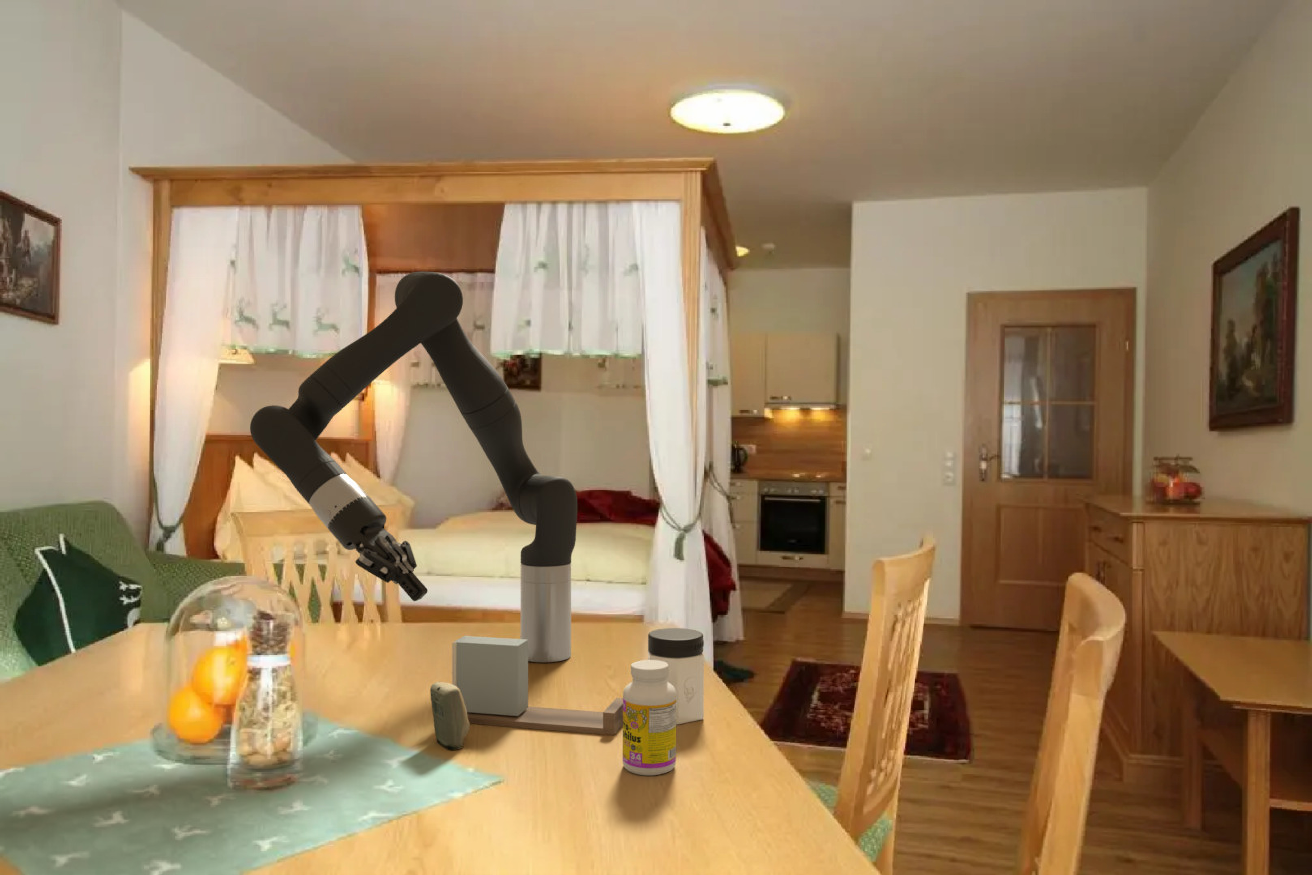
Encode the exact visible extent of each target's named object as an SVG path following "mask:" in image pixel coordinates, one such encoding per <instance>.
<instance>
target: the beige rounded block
mask: <svg viewBox="0 0 1312 875" xmlns="http://www.w3.org/2000/svg"><path fill="white" fill-rule="evenodd" d="M429 690H430V692H429V693H430V701H431V710H432V716H433V717H432V720H433V727H434V733H435V734H434V735H435V738H436V744H439V745H440V746H442V747H444V748H445V749H446V750H449V751H455V750H456V751H457V750H460V749H463V748H464V744H465V741H464V739H465V737H466V736H467V735H468V732H469V731H470V723H469V721H468V716H467V710H466V706H465V703H464V700H463V697H462V694H461V692H460V689H459V688H458V687H456V686H455V685H452V683H449V682H443V681H442V682H441V681H437V682H434V683H432V684H431V685H430V689H429Z"/></svg>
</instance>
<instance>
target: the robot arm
mask: <svg viewBox="0 0 1312 875" xmlns="http://www.w3.org/2000/svg"><path fill="white" fill-rule="evenodd" d="M394 303H395V304H394V305H395V307H396V308H395V309H394V310H393V311H392V312H391V313H390V314H389V315H388V316H387V317H386V318H385V319H384V320H383V321H381V323H379V324H378V325H376V327H373V328H372V330H370V331H369V332H367V333H365V334H364V335H363V336H361V337H359V338H358V339H356V340H355V341H353V342H352V343H350V344H348V345H347V346H345V347H343V348H342V349H340V350H339V351H338V352H336V353H335V354H333V355H332V356H331V357H330V358H328V359H327V360H326V361H324V363H322V365H320V366H319V367H318V368H317V369H316V370H314V371H313V372H312V373H311V374H310V375H309V376H308V377H307V378H306V379H304V381H303V382H302V383H301V384H300V385H299V386H298V395H297V396H298V397H297V399H296V400H295V401H294V402H293V403H292V405H291V406H289V408H287V407H284V406H281V405H273V404H272V405H266V406H264V407H262V408H259V409H258V410H257V411H256V412H255V414H253V416H252V418H251V421H250V426H249V429H250V430H249V431H250V435H251V438H252V440H253V442H254V444H256V445H257V446H258V448H259V449H260V450H261V451H262V452H263V453H264V454H265V455H266V456H267V457H268V458H269V459H270V460H271V461H272V462H273V464H275V466H277V467H278V468H279V469H280V470H281V472H283V473H284V474H285V475H286V477H287V478H288V479H289V482H290V483H291V484H292V486H293V487H294V488H295V489H296V491H297V492H298V493H299V494H300V495H301V497H302V498H303V499H304V501H305V502H307V504H308V505H309V506H310V508H312V511H313V512H314V514H315V515H316V516H317V518H318V519H319V520H320V521H321V522H322V524H323V525H324V526H325V527H326V529H327V530H328V531H329V532H330V533H331V535H332V536H333V537H334V538H335V539H336V540H337V541H338V542H339V544H340V545H341V546H342V547H343V548H344V549H345V550H347V551H351V550H356V552H357V553H358V554H359V557H358V558H357V559H356V560H355V564H356V565H357V566H358V567H359V568H362V569H363V570H365V571H367V572H368V573H370V574H372V575H374V576H375V577H376V578H378V579H380V580H381V581H383V582H385V583H387V584H389V583H390V582H392V583H393V584H395V585H399V586H400V588H401V589H402V590H403V591H404V593H406V595H407V596H408V597H409V598H410V599H411V600H412V601H413V602H417V601H419V600H421V599H423V597H425V596H426V594H427V593H428V589H427V587H426V586H425V585H424V583H423V582H422V581H421V580H420V579H419V578H418V577H417V575H416V574H415V573H414V571H415V569H416V568H417V567H418V564H417V562H416V559H415V556H414V552H413V549H412V545H411V543H410V542H409V541H407V540H403V541H402V543H400V542H398V541H397V539H396V538H395V537H394V535H392V534H391V533H390V532H388V530H387V529H385V524H386V522H387V515H386V514H385V513H384V512H383V511H382V510H381V508H380V507H379V506H378V505H377V504H376V503H375V501H373V500H372V498H371V497H370V496H369V495H368V494H367V493H366V491H364V490H363V488H362V487H361V485H360V484H358V483H357V481H355V480H354V479H353V478H351V476H349V475H348V474H347V472H345V470H344V469H343V468H342V467H341V465H339V463H338V462H337V461H336V459H334V458H333V457H332V456H331V455H330V454H329V453H327V451H326V450H324V449H323V448H322V447H321V446H320V444H319V443H318V442H317V440H318V438H319V437H320V436H321V434H322V433H323V432H324V430H325V429H326V428H327V426H328V425H329V423H330V422H331V420H332V419H333V418H334V417H335V416H336V415H337V414H338V413H340V412H341V411H342V410H343V409H344V408H345V407H346V406H347V405H349V404H350V402H352V401H354V399H355V398H356V397H357V396H358V395H359V394H360V393H362V392H363V391H364V390H365V389H366V388H368V386H369V385H370V384H372V382H374V381H375V380H376V379H377V378H378V377H380V375H382V374H383V373H384V372H385V371H386V370H387V369H388V368H390V367H391V366H392V365H393V364H395V363H396V362H397V361H399V360H400V359H401V358H402V357H404V356H405V355H406V354H408V353H409V352H411V351H412V350H413V349H415V348H416V347H417V346H419V345H420V344H421V345H422V347H423V348H424V350H425V351H426V352H427V354H428V355H429V357H430V359H431V360H432V362H433V364H434V366H435V368H436V370H437V372H438V373H439V376H440V378H441V380H442V382H443V384H444V386H445V387H446V389H447V390H448V392H449V395H450V396H451V398H452V399H453V401H454V403H455V405H456V408H457V409H458V411H459V412H460V415H461V416H462V418H463V419H464V421H465V422H466V425H467V426H468V428H469V429H470V430H471V432H472V434H473V435H474V437H475V438H476V440H477V442H478V443H479V445H480V447H481V449H482V450H483V452H484V455H485V456H486V458H487V459H488V461H489V462H490V464H491V466H492V468H493V469H494V472H495V473H496V475H497V478H498V479H499V482H500V484H501V486H502V489H503V490H504V493H505V495H506V497H507V499H508V502H509V504H510V506H511V508H512V510H513V512H514V513H515V515H516V516H517V517H518V518H519V519H520V520H521V521H523V523H526V524H529V525H533V526H535V532H534V533H535V534H534V539H533V540H532V542H530V543H529V544H527V545H525V546H524V547H522V548H521V550H520V638H519V639H527V640H528V662H532V663H553V662H554V663H555V662H561V661H566V660H568V659H570V658H571V656H572V556H573V555H572V554H573V552H574V550H575V546H576V542H577V541H576V540H577V521H578V497H577V496H578V495H577V492H576V489H575V486H574V484H572V482H571V481H570V480H568V478H565V477H563V476H557V475H543V474H541V473H540V472H539V471H538V469H537V468H536V467H535V465H534V464H533V462H532V460H531V459H530V457H529V455H528V453H527V451H526V449H525V446H524V441H523V440H524V439H523V424H522V423H523V422H522V421H523V420H522V416H521V415H522V414H521V411H520V407H519V406H518V403H517V401H516V400H515V398H514V397H513V394H512V392H511V391H510V389H509V387H508V385H507V384H506V382H505V381H504V379H503V378H502V376H501V375H500V373H499V372H498V371H497V370H496V368H495V367H494V365H492V364H491V362H490V361H489V360H488V359H487V358H486V357H485V356H484V355H483V354H482V353H481V351H480V350H479V349H478V348H477V347H476V346H475V344H473V342H472V341H471V340H470V338H468V335H467V334H466V332H465V331H464V329H463V328H462V325H461V323H460V322H459V320H458V317H459V315H460V314H461V312H462V310H463V306H464V305H463V304H464V296H463V291H462V289H461V287H460V285H459V284H458V283H457V281H456V280H454V278H452V277H450V276H448V275H446V274H444V273H440V272H436V271H435V272H434V271H415V272H414V271H413V272H410V273H408V274H405V275H403V277H402V278H400V280H399V281H398V283H397V285H396V287H395V292H394Z"/></svg>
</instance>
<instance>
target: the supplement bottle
mask: <svg viewBox="0 0 1312 875" xmlns="http://www.w3.org/2000/svg"><path fill="white" fill-rule="evenodd" d="M668 674H669V666H668V664H667V663H666V662H663V661H658V660H648V659H642V660H638V661H635V662H632V663H631V665H630V675H631V677H632V681H630V682H629V683H628V684H627V685H626V686H625V688H623V692H622V698H623V725H622V764H623V767H624V769H626V771H628V772H630V773H632V774H635V775H639V776H657V775H662V774H666V773H668V772H670V771H672V770H674V768H675V767H676V764H677V763H676V761H677V760H676V759H677V724H676V690H675V688H674V687H673V685H671V684H670V683H668V682H667V677H668Z"/></svg>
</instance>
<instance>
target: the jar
mask: <svg viewBox="0 0 1312 875" xmlns="http://www.w3.org/2000/svg"><path fill="white" fill-rule="evenodd" d="M704 645H705V641H704V634H703V633H702V632H701V631H700V630H696V629H690V628H683V627H681V628H680V627H678V628H677V627H668V628H667V627H666V628H660V629H654V630H651V631H650V632H649V633H648V634H647V649H648V650H647V660H658V661H663V662H666V663H667V664H668V666H669V674H668V677H667V682H668V683H670V684H671V685H673V687H674V688H675V690H676V726H678V725H682V724H688V723H692V722H697V721H701V720H704V713H705V712H704V711H705V710H704V706H705V705H704V703H705V702H704V700H705V699H704V695H705V694H704V693H705V692H704V691H705V690H704V685H705V684H704V681H705V679H704V678H705V676H704V675H705V669H704V668H705V664H704V662H705V657H704V653H703V652H704Z"/></svg>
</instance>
